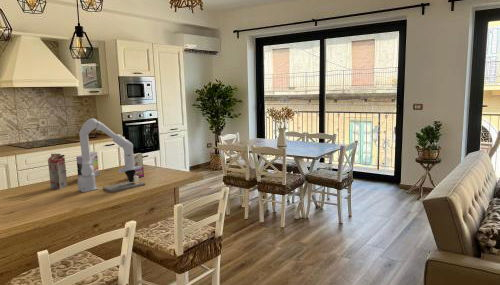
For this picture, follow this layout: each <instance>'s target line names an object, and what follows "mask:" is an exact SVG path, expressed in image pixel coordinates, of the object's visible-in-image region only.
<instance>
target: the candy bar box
mask: <svg viewBox="0 0 500 285" xmlns="http://www.w3.org/2000/svg"><path fill="white" fill-rule="evenodd" d="M133 154H134V166H141V169H138V170H135V174H134V176H139V178H142V177H144V176H145V173H144V170H145V169H144V159H143V153H141V152H138V153H133ZM126 179H127V180H129V179H128V177H127V176H126Z"/></svg>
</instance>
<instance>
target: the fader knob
mask: <svg viewBox="0 0 500 285" xmlns="http://www.w3.org/2000/svg"><path fill="white" fill-rule="evenodd" d="M139 182H140V177H139V176H134V177H133V182H132V183H139Z"/></svg>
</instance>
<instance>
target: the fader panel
mask: <svg viewBox="0 0 500 285" xmlns="http://www.w3.org/2000/svg"><path fill="white" fill-rule="evenodd" d="M143 186H146V183H145V182H142V181H139V183H132V182H129V181H126V182H122V183H116V184H112V185H107V186H103V187H102V189H103V190H105V191H106V192H109V193H112V194H113V193H117V192H122V191H126V190H129V189H133V188H134V189H135V188H140V187H143Z"/></svg>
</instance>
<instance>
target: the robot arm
mask: <svg viewBox="0 0 500 285" xmlns="http://www.w3.org/2000/svg"><path fill="white" fill-rule="evenodd" d="M94 130H95V131H102V132H103V133H105V134H106V135H107V136H109V137H110V138H112V142H113V143H114V144H116V145H118V146H119V147H120V148H122V150H123V153H124V154H123V158H124V168H121V169H118V171H117V172H118V174H122V173H124V174H125V175H126V178H127V177H128V179H127V180H128V182H133V177H134V174H135V170H138V169H141V166H134V154H135V153H134V144H133V143H132V142H131V141H130V140H129V139H126V138H125V137H124V136H123V134H120V133H118V134H116V133H115V132H114V131H112V130H111V128H109V127H108V126H107V125H105V124H104V123H103V122H101V121H99V120H98V119H97V118H94V117H93V118H89V119H87V120H86V121H84V122H83V125H82V126H81V128H80V130H79V132H78V134H79V136H78V137H79V143H80V151H81V153H80V154H81V155H82V169H81V173H82V176H81V177H79V178H78V177H77V187H78V188H77V190H78V191H79V192H81V193H86V192H91V191H94V190H95V191H96V190H99V188H98V187H97V186H96V177H95V174H94V173H93V171H94V166H93V165H92V161H91V156H90V152H91V150H90V148H91V147H90V139H89V134H90V133H91V132H92V131H94Z"/></svg>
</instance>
